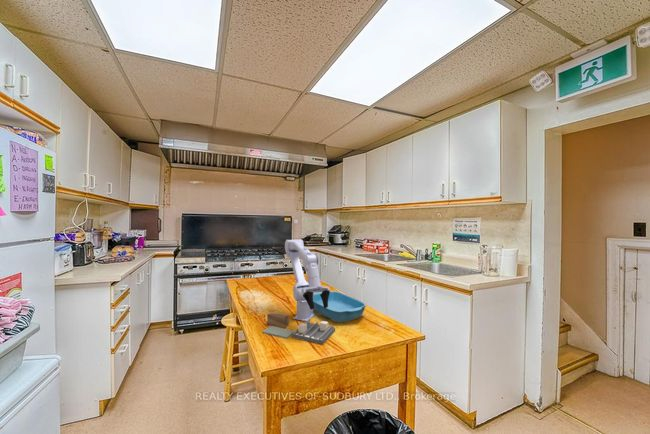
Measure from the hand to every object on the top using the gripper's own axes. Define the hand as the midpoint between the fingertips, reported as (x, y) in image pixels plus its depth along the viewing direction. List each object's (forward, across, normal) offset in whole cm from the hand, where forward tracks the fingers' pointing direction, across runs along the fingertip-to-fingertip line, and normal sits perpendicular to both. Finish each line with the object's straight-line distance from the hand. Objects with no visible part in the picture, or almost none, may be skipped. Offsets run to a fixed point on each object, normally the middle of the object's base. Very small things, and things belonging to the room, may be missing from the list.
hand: (319, 308), depth 119 cm
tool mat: (+6, -13, +16) cm, 22 cm away
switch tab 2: (+9, +3, +4) cm, 10 cm away
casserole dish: (0, +24, +19) cm, 30 cm away
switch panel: (+10, -1, +6) cm, 12 cm away
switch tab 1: (+8, -6, +7) cm, 12 cm away
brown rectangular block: (+2, -10, +23) cm, 25 cm away
